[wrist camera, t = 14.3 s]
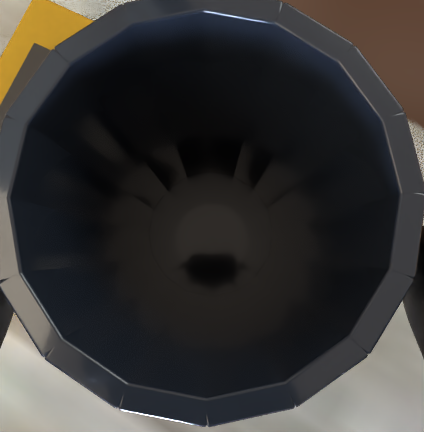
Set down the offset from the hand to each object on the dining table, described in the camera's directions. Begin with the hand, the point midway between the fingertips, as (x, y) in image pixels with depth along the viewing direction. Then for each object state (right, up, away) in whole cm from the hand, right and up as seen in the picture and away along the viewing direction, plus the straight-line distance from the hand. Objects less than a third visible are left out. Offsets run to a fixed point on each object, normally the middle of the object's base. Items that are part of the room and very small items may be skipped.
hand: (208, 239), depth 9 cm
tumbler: (0, 0, +9) cm, 9 cm away
